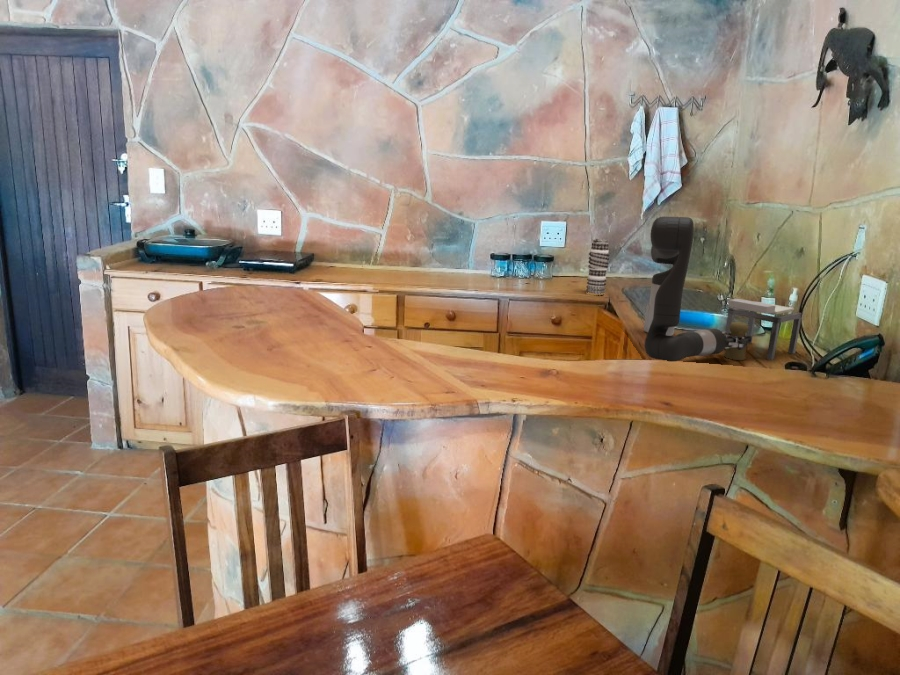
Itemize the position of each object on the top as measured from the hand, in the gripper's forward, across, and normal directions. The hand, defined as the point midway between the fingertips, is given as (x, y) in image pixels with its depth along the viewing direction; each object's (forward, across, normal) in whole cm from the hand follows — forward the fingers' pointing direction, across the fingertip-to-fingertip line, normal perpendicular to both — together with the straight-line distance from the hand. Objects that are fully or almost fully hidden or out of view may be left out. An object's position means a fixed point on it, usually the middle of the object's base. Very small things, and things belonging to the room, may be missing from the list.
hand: (744, 337), depth 197 cm
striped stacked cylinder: (+27, +99, +6) cm, 103 cm away
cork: (-3, 0, +6) cm, 7 cm away
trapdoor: (+9, +2, -7) cm, 12 cm away
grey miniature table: (+12, +3, +6) cm, 14 cm away
